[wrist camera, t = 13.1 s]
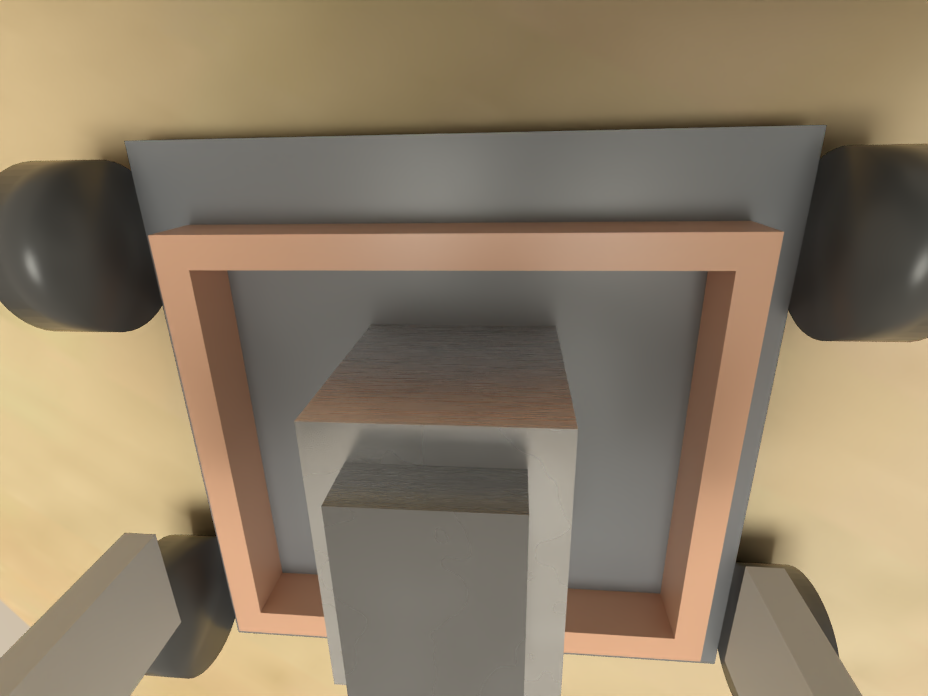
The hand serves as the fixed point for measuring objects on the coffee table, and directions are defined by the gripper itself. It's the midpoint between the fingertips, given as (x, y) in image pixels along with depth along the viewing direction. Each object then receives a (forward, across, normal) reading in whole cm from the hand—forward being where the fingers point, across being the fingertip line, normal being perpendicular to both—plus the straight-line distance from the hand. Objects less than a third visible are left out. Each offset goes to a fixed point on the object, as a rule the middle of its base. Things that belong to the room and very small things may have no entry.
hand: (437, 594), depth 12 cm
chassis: (+8, 0, 0) cm, 8 cm away
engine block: (+7, 0, 0) cm, 7 cm away
